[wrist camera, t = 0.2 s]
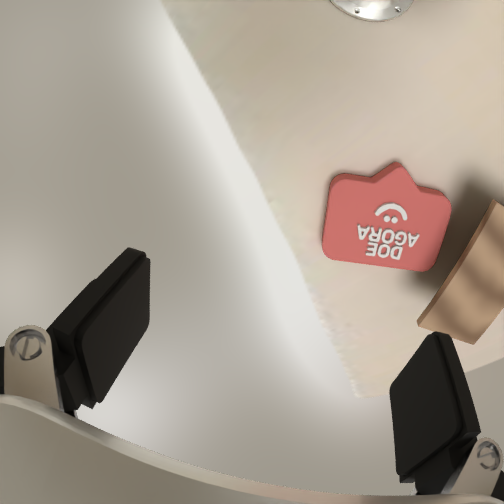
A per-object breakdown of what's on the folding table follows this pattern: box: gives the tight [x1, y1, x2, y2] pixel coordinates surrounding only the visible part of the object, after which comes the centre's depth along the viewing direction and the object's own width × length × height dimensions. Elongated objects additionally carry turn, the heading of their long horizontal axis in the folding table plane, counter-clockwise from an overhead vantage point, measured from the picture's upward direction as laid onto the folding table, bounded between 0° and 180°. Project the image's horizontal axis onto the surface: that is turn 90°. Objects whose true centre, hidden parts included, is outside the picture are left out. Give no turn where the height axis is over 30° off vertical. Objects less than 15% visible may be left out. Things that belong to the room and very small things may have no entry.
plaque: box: [322, 162, 452, 272], centre depth 42 cm, size 18×4×15 cm
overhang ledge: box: [417, 199, 504, 345], centre depth 39 cm, size 20×12×10 cm, turn 163°
